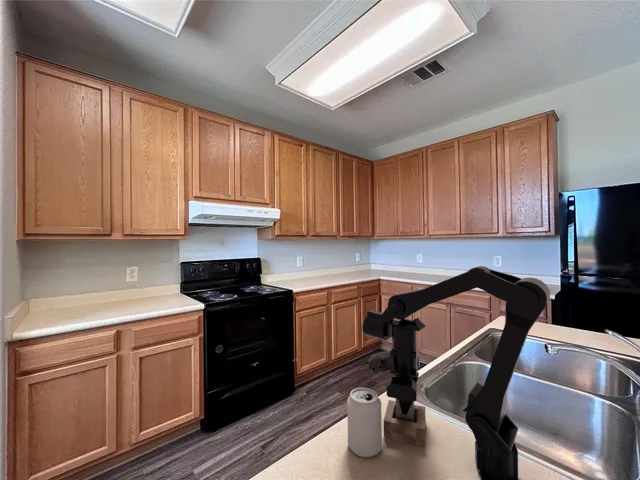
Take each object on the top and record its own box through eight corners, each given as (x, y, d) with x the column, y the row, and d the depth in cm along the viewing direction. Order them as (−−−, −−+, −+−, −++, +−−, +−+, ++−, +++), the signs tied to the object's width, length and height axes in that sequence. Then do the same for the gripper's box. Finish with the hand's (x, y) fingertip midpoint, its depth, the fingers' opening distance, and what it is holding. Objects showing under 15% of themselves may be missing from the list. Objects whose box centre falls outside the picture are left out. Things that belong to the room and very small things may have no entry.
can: (382, 462, 59) (381, 405, 59) (346, 457, 61) (345, 401, 60) (381, 437, 66) (380, 386, 66) (349, 433, 68) (348, 383, 68)
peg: (414, 422, 70) (413, 381, 70) (413, 432, 66) (413, 390, 66) (397, 418, 71) (397, 379, 71) (396, 428, 68) (395, 387, 68)
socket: (425, 422, 71) (425, 406, 71) (424, 447, 63) (424, 429, 63) (389, 414, 75) (388, 399, 75) (383, 437, 66) (383, 420, 66)
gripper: (377, 329, 80) (378, 384, 80) (362, 355, 63) (364, 425, 63) (419, 333, 76) (420, 391, 76) (415, 362, 59) (416, 437, 59)
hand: (405, 408), depth 69 cm, fingers closed on peg, 4 cm apart
